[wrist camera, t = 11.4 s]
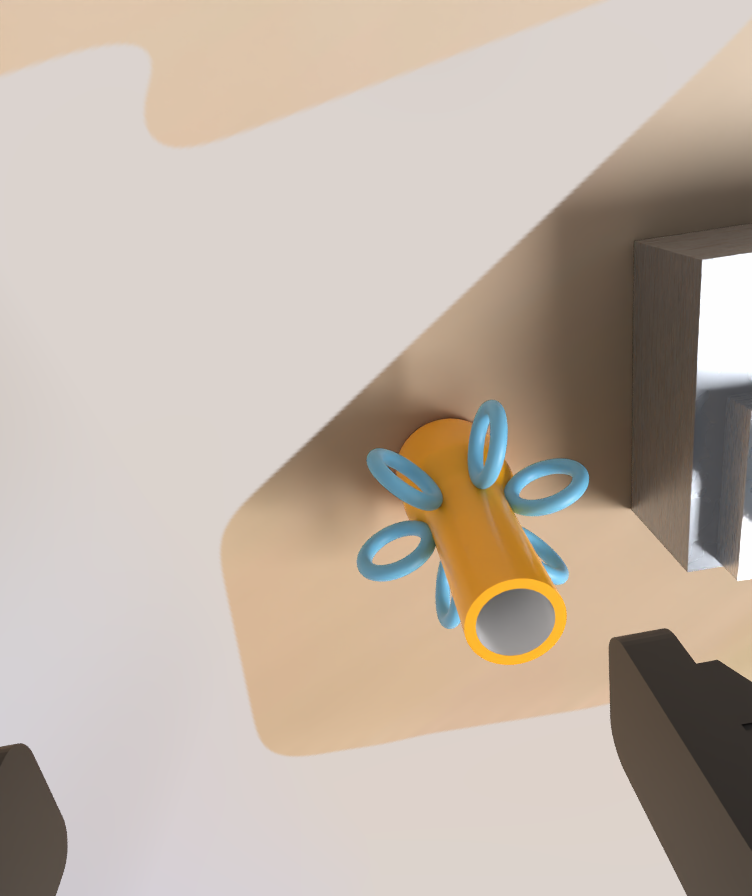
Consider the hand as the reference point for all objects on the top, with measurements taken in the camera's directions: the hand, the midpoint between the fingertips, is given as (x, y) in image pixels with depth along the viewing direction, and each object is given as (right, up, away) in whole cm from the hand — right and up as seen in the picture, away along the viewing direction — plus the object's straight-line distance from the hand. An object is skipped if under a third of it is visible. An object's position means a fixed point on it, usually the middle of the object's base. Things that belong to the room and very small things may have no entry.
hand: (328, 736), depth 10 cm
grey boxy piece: (+21, +8, +31) cm, 38 cm away
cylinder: (+5, +3, +31) cm, 32 cm away
